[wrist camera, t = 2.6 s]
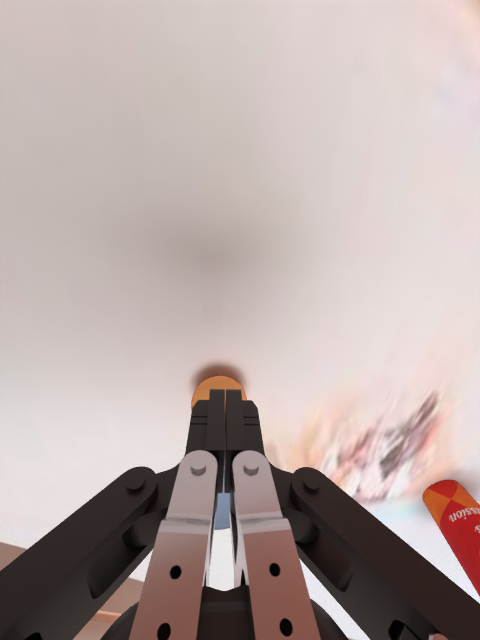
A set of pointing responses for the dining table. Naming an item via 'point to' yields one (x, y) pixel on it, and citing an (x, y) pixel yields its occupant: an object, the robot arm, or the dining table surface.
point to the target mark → (222, 511)
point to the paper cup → (457, 524)
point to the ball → (215, 383)
